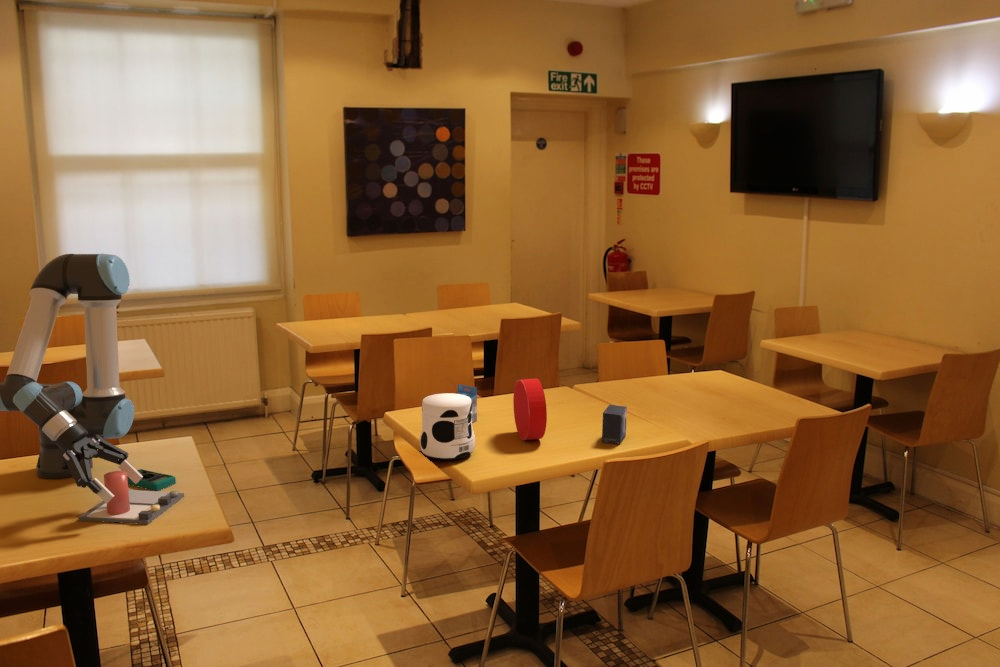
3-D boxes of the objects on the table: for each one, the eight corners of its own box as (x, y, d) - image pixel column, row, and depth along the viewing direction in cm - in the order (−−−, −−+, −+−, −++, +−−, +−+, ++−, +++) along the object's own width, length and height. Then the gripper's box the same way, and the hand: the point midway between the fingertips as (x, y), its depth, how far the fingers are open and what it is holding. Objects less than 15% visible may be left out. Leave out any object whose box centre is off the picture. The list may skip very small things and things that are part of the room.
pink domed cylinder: (114, 506, 231) (111, 470, 229) (134, 507, 230) (131, 471, 228) (102, 514, 225) (99, 477, 223) (122, 515, 225) (119, 478, 223)
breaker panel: (119, 493, 243) (119, 484, 243) (184, 496, 241) (183, 487, 240) (78, 520, 225) (77, 511, 224) (148, 524, 222) (147, 515, 222)
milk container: (428, 444, 284) (427, 391, 280) (480, 447, 281) (480, 393, 277) (413, 462, 267) (411, 405, 264) (467, 466, 264) (467, 408, 260)
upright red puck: (546, 446, 281) (547, 386, 277) (529, 448, 280) (529, 388, 276) (529, 428, 300) (530, 372, 296) (513, 429, 299) (513, 373, 295)
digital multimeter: (140, 476, 257) (139, 467, 257) (177, 484, 251) (176, 474, 250) (120, 485, 251) (119, 475, 250) (157, 493, 244) (156, 483, 244)
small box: (620, 445, 282) (621, 414, 280) (601, 443, 285) (601, 412, 282) (627, 435, 292) (627, 405, 290) (607, 434, 294) (608, 404, 292)
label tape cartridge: (451, 419, 311) (450, 386, 308) (457, 417, 314) (457, 383, 312) (471, 423, 306) (470, 390, 303) (477, 421, 309) (477, 387, 307)
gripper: (86, 427, 238) (142, 481, 239) (25, 457, 214) (88, 518, 215) (102, 409, 237) (158, 464, 238) (43, 437, 212) (106, 498, 213)
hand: (125, 489), depth 226 cm, fingers open, 13 cm apart
